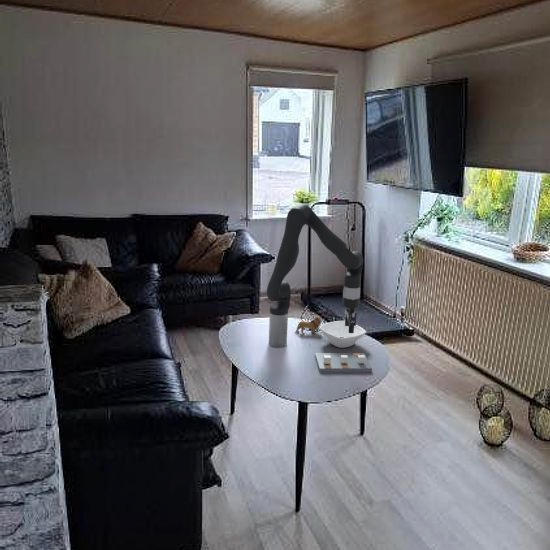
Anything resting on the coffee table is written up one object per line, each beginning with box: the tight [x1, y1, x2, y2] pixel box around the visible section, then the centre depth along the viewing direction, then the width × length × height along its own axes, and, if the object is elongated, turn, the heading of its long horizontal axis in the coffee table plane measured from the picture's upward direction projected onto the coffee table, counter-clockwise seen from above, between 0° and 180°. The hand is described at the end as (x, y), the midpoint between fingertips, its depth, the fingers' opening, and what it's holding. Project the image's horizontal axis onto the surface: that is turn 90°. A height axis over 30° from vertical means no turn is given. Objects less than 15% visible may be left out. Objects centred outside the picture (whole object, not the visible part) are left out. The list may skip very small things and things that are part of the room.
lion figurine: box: [294, 316, 322, 335], centre depth 267 cm, size 15×5×9 cm, turn 105°
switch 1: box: [323, 355, 331, 364], centre depth 229 cm, size 2×3×3 cm
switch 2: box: [340, 355, 348, 363], centre depth 230 cm, size 2×3×3 cm
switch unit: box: [314, 352, 373, 373], centre depth 233 cm, size 16×24×2 cm, turn 94°
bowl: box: [318, 320, 367, 349], centre depth 254 cm, size 21×21×9 cm
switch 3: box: [357, 355, 366, 363], centre depth 230 cm, size 2×3×3 cm
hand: (349, 329), depth 227 cm, fingers open, 8 cm apart
